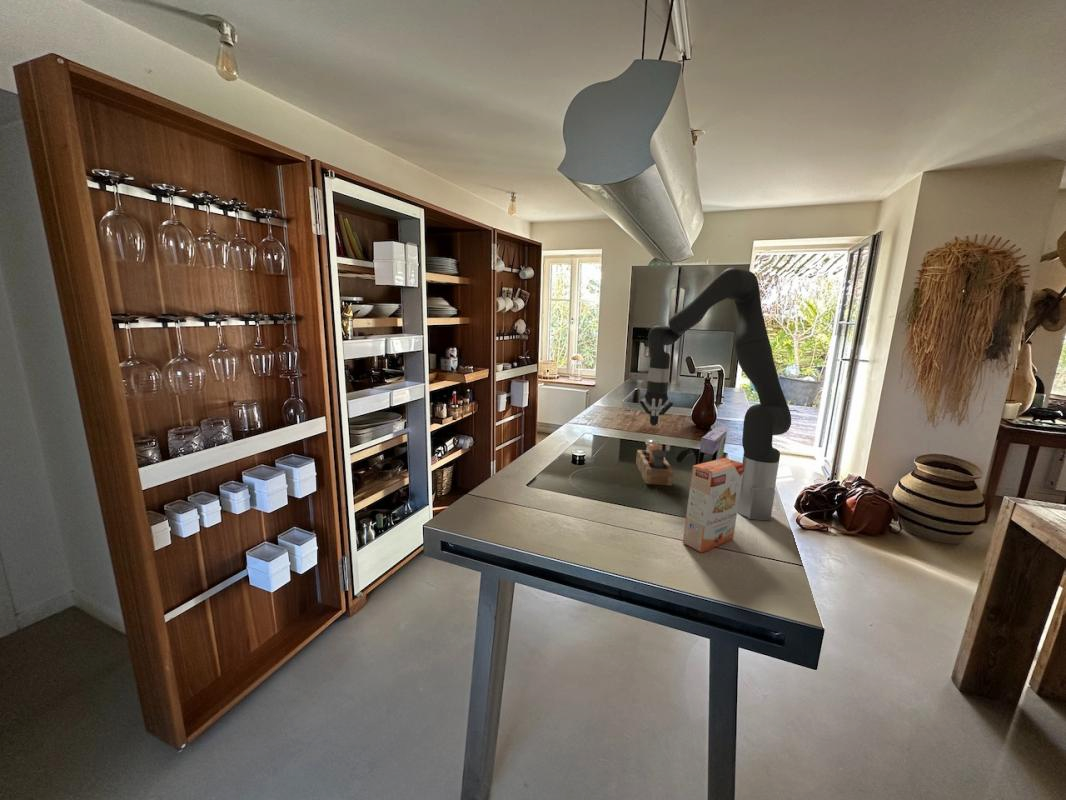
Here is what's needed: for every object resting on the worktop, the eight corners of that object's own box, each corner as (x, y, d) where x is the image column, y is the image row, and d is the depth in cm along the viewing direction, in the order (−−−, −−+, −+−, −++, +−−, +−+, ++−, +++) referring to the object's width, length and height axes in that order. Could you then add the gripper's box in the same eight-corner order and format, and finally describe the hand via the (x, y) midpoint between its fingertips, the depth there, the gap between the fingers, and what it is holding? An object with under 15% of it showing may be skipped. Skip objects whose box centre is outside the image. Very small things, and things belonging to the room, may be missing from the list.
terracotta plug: (661, 467, 152) (663, 448, 151) (648, 466, 152) (650, 447, 151) (658, 463, 157) (660, 444, 155) (646, 462, 157) (648, 443, 156)
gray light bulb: (665, 474, 145) (667, 453, 144) (651, 473, 146) (653, 453, 144) (662, 469, 150) (664, 450, 148) (649, 468, 150) (651, 449, 149)
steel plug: (657, 461, 159) (659, 442, 158) (645, 460, 159) (646, 441, 158) (655, 457, 163) (656, 439, 162) (643, 456, 164) (644, 438, 162)
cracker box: (702, 554, 100) (713, 472, 97) (681, 543, 105) (690, 464, 101) (735, 540, 108) (746, 463, 104) (714, 530, 113) (723, 456, 109)
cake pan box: (707, 490, 142) (714, 439, 138) (692, 486, 144) (698, 436, 141) (721, 475, 157) (727, 429, 154) (707, 472, 160) (713, 427, 156)
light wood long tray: (672, 485, 144) (673, 470, 143) (645, 483, 145) (646, 468, 144) (659, 464, 166) (660, 451, 165) (636, 463, 166) (637, 449, 165)
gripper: (641, 380, 153) (637, 426, 156) (678, 382, 152) (673, 428, 155) (638, 377, 160) (634, 421, 163) (673, 379, 159) (668, 423, 162)
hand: (653, 425), depth 159 cm, fingers closed
